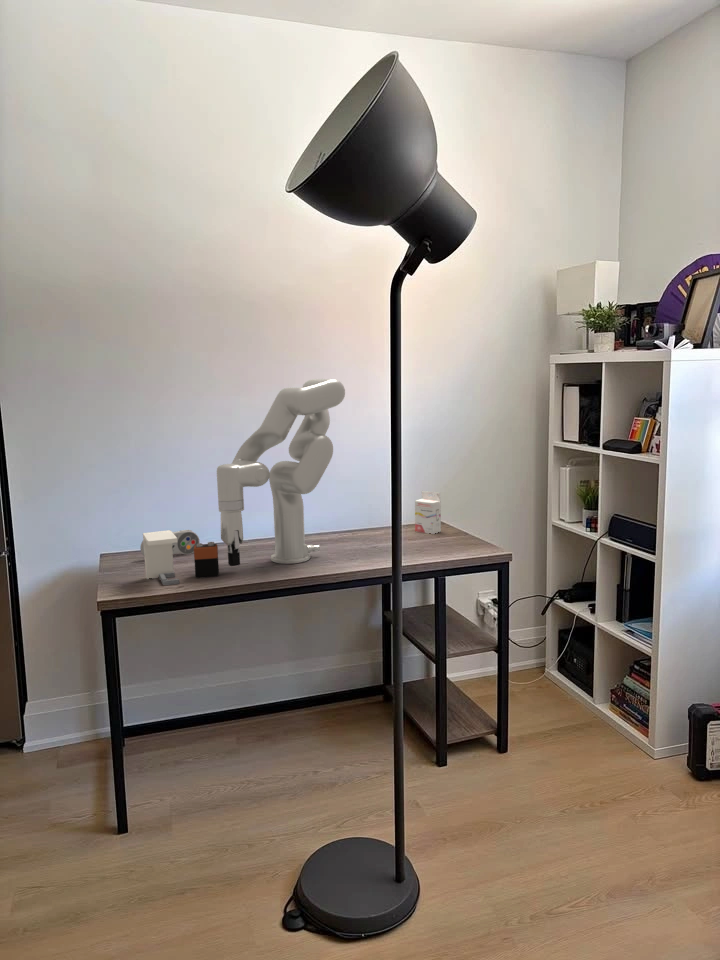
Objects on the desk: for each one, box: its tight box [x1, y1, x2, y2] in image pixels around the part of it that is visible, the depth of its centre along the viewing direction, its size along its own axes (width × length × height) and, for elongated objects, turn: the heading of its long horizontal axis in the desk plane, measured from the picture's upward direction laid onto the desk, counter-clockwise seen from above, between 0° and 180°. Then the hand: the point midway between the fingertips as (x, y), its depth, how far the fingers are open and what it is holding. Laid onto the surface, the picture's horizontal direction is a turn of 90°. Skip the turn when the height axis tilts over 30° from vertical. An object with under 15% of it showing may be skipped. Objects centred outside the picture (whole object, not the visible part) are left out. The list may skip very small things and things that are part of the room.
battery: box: [193, 541, 220, 579], centre depth 219 cm, size 4×7×10 cm, turn 100°
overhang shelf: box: [142, 529, 180, 586], centre depth 213 cm, size 8×12×14 cm, turn 23°
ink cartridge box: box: [414, 490, 442, 535], centre depth 268 cm, size 9×5×15 cm, turn 52°
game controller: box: [140, 529, 201, 558], centre depth 243 cm, size 20×2×8 cm, turn 122°
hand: (234, 564), depth 222 cm, fingers closed
